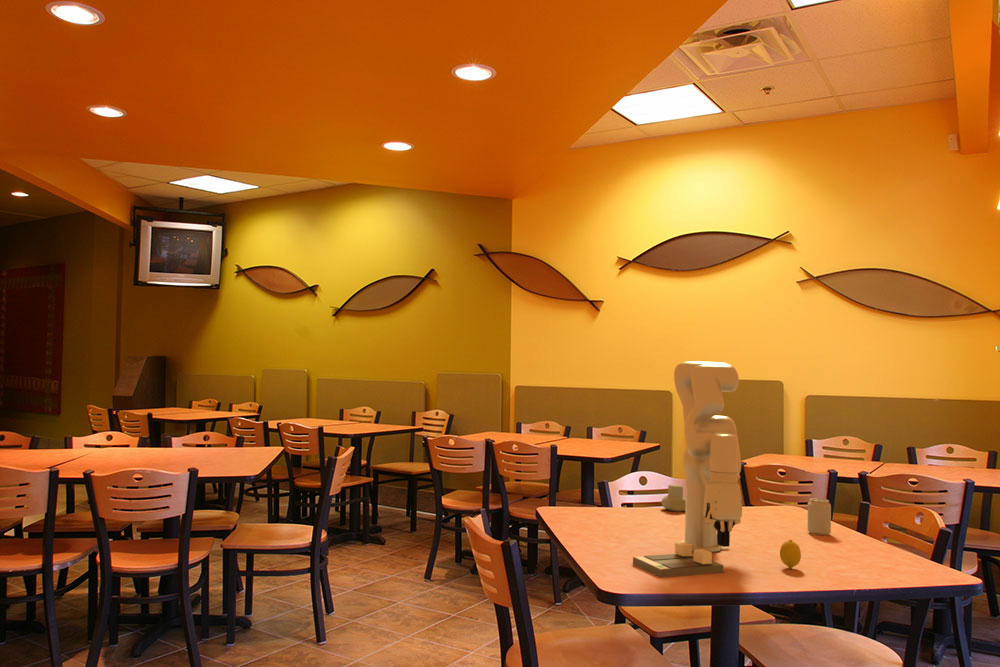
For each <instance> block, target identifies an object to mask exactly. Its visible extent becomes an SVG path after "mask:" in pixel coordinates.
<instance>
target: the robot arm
mask: <svg viewBox="0 0 1000 667" xmlns="http://www.w3.org/2000/svg"><path fill="white" fill-rule="evenodd" d="M673 381H674V387H675V389H676V390H675V391H676V393H677V395H678V397H679V400H680V403H681V406H682V412H683V413H682V414H683V423H684V428H683V429H684V430H683V431H684V439H685V445H686V449H685V451H684V452H683V455H682V456H683V459H682V460H683V461H682V462H683V470H684V477H685V497H686V508H685V510H684V511H685V516H684V519H685V520H684V521H685V522H684V525H685V526H684V539H683V540H681V541H680V542H685V543H688V544H691V545H692V552H694V550H696V549H704V550H707V551H710V552H712V553H715V552H716V553H717V552H719V551H722V548H727V547H730V540H731V539H730V537H731V535H730V534H731V533H730V532H732V531H733V528H734V526H735V525H740V523H741V519H742V517H743V516H742V515H743V500H742V493H741V487H740V486H741V485H740V483H738V481H739V480H740V479H741V475H740V473H741V471H742V460H741V458H742V457H741V451H740V443H739V438H738V431H737V426H736V423H735V421H734V420H733V419H732V418H731V417H729V416H725V415H719V414H721V412H722V411H723V410H724V409H725V401H724V398H723V394H722V393H723V392H724V393H725V392H726V393H733V392H735V391H737V389H738V387H739V384H740V379H739V372H738V371H737V369H736V368H735V367H734V365H732V364H729V363H727V362H719V361H718V362H717V361H685V362H683V361H682V362H680V363H678V364H677V365H676V366H675V368H674V371H673Z"/></svg>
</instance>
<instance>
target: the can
mask: <svg viewBox="0 0 1000 667" xmlns="http://www.w3.org/2000/svg"><path fill="white" fill-rule="evenodd" d="M831 524H832V505H831V503H830V500H828V499H825V498H809V501H808V502H807V531H808V532H809V534H810V533H811V535H813V534H814V536H820V535H827V536H829V534H831V532H832V529H831V528H832V525H831Z"/></svg>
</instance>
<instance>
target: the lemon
mask: <svg viewBox="0 0 1000 667" xmlns="http://www.w3.org/2000/svg"><path fill="white" fill-rule="evenodd" d="M779 557H780V560H781V562H782V563H783V564H784V565H785V566H787V567H788V569H790V570H791V569H792V568H793V567H796V566H798V565H799V564H800V561H801V558H802V551H801V548H800V546H799V545H798V544H797V543H796V542H794V541H793V540H792V539H788V540H786V541H784V542H783V543H782V544H781V546H780V549H779Z"/></svg>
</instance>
